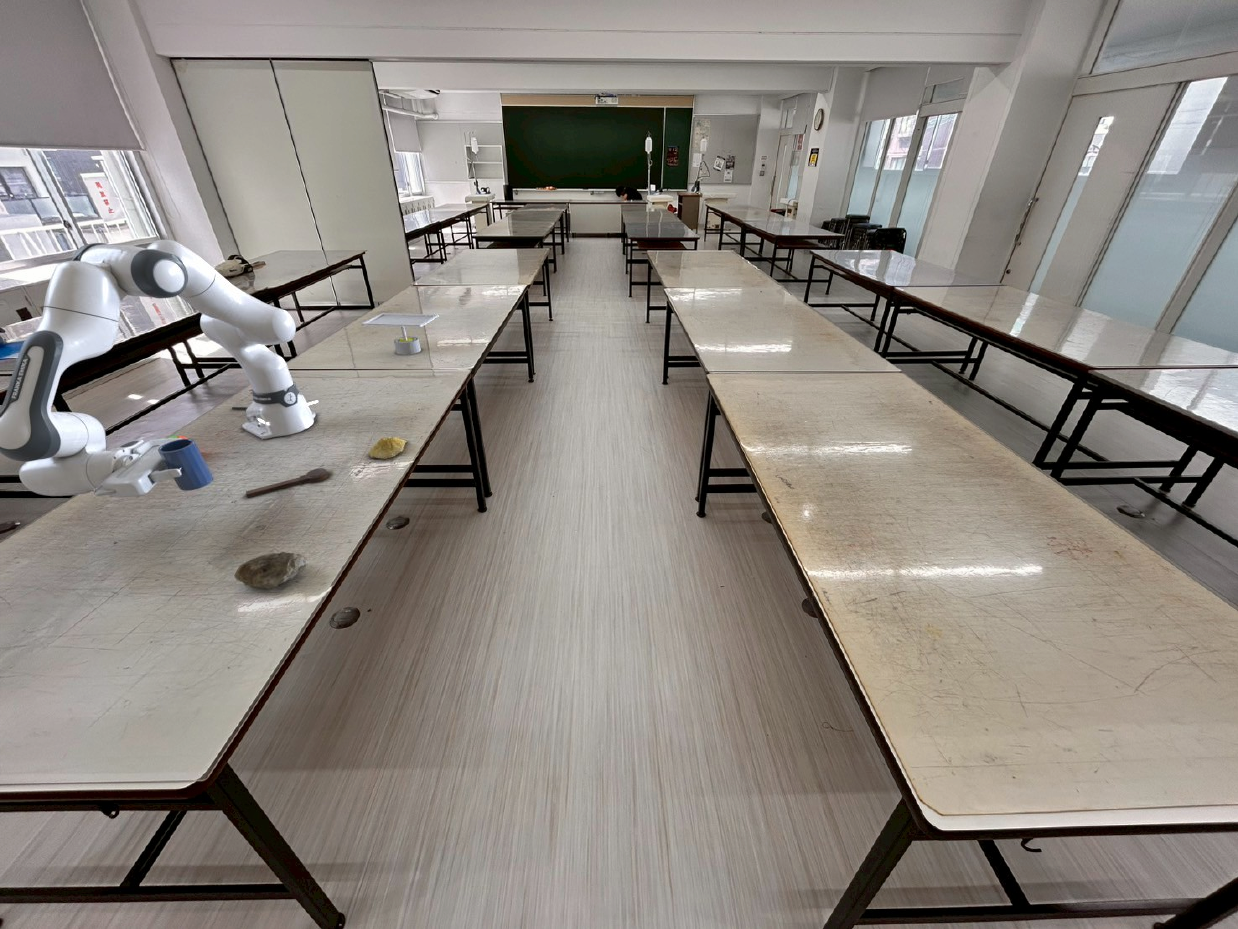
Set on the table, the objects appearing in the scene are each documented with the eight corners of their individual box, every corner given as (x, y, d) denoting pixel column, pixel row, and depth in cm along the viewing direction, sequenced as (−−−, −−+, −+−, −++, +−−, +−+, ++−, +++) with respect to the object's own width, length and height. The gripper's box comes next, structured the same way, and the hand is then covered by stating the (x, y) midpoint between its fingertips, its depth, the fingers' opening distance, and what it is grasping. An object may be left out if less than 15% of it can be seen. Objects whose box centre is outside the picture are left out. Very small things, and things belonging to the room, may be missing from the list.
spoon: (247, 500, 128) (244, 496, 127) (247, 491, 132) (245, 486, 131) (329, 478, 136) (327, 474, 136) (327, 470, 140) (325, 465, 139)
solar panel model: (369, 356, 222) (360, 323, 214) (390, 344, 236) (381, 312, 229) (427, 359, 219) (420, 325, 211) (444, 346, 233) (438, 314, 225)
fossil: (378, 424, 151) (408, 427, 149) (386, 438, 155) (415, 442, 153) (358, 449, 143) (389, 453, 141) (366, 463, 147) (397, 467, 146)
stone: (320, 557, 106) (292, 550, 99) (307, 594, 104) (277, 590, 96) (270, 551, 109) (239, 543, 101) (256, 587, 106) (223, 582, 99)
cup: (173, 487, 113) (151, 449, 108) (202, 473, 118) (182, 436, 113) (190, 493, 111) (169, 454, 106) (219, 478, 116) (200, 441, 111)
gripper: (78, 483, 99) (157, 474, 102) (138, 436, 116) (205, 429, 119) (96, 508, 102) (172, 499, 105) (152, 459, 119) (216, 452, 122)
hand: (190, 462), depth 112 cm, fingers closed on cup, 6 cm apart
